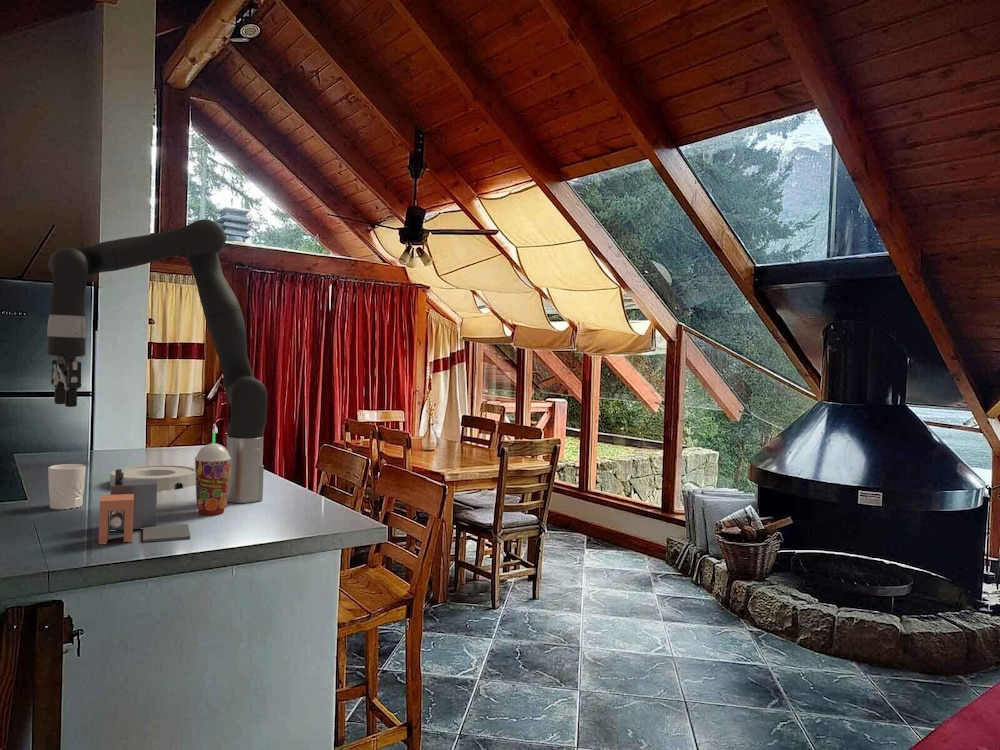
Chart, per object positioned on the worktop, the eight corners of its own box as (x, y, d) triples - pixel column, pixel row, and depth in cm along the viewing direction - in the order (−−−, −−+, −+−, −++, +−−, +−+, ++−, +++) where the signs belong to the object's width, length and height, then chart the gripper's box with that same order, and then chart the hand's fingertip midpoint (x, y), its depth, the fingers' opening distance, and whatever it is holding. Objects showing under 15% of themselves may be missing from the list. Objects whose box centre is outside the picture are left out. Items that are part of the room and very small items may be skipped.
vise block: (110, 525, 155) (112, 467, 154) (155, 522, 159) (157, 466, 158) (106, 545, 139) (108, 482, 139) (156, 542, 143) (158, 480, 143)
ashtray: (98, 492, 188) (98, 478, 188) (123, 477, 211) (124, 464, 210) (189, 492, 194) (189, 478, 193) (204, 477, 216) (205, 465, 216)
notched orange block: (132, 535, 147) (133, 493, 147) (132, 542, 142) (133, 499, 142) (100, 537, 145) (101, 495, 144) (98, 545, 139) (99, 501, 139)
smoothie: (194, 517, 165) (196, 434, 164) (191, 510, 172) (194, 430, 172) (231, 515, 169) (234, 434, 168) (227, 508, 176) (230, 430, 175)
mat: (187, 526, 156) (187, 523, 156) (190, 538, 147) (190, 536, 147) (143, 529, 152) (143, 526, 152) (142, 542, 143) (142, 539, 143)
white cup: (91, 506, 172) (93, 466, 171) (60, 511, 165) (61, 470, 164) (71, 501, 175) (72, 462, 175) (39, 507, 168) (40, 466, 168)
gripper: (94, 336, 157) (93, 407, 157) (75, 335, 166) (74, 402, 167) (56, 335, 151) (55, 408, 152) (39, 334, 161) (38, 403, 161)
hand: (65, 405), depth 159 cm, fingers open, 8 cm apart
